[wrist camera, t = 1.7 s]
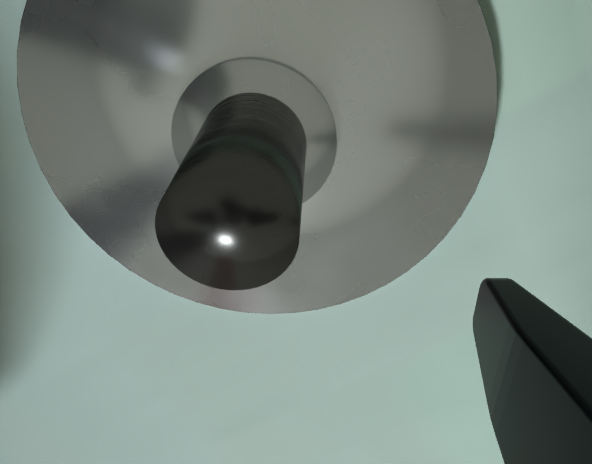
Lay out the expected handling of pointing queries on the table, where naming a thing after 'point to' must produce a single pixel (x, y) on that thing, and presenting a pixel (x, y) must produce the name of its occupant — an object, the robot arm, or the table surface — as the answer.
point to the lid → (260, 137)
